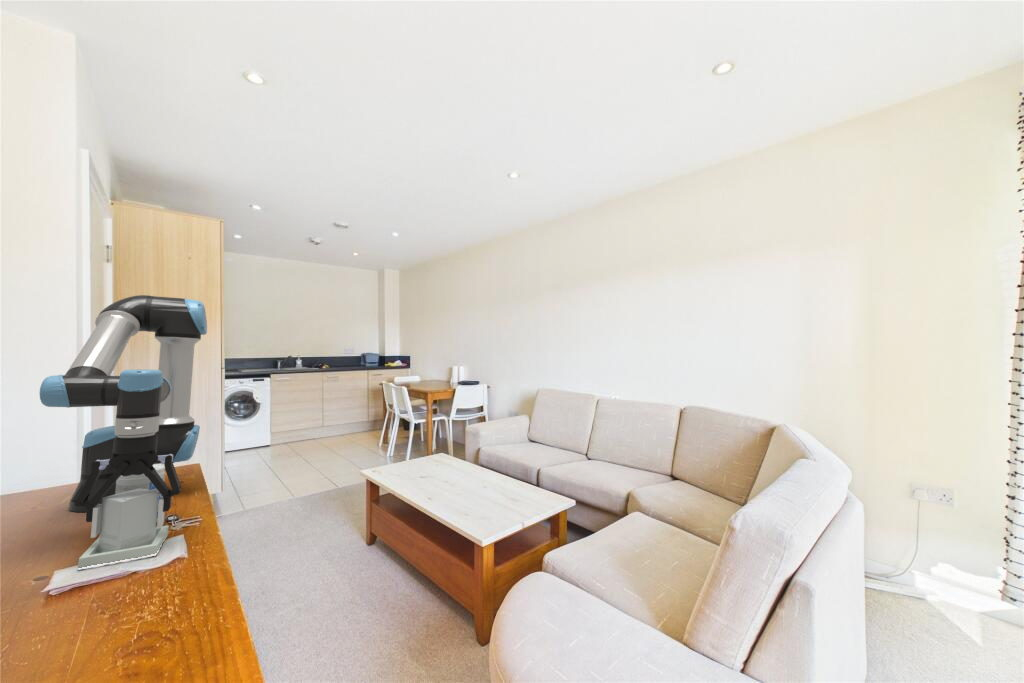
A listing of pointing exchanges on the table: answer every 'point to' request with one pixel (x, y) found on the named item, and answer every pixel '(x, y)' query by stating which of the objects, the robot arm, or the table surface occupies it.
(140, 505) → the supplement box
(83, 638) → the table surface
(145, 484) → the supplement tub
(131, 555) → the holder tray
